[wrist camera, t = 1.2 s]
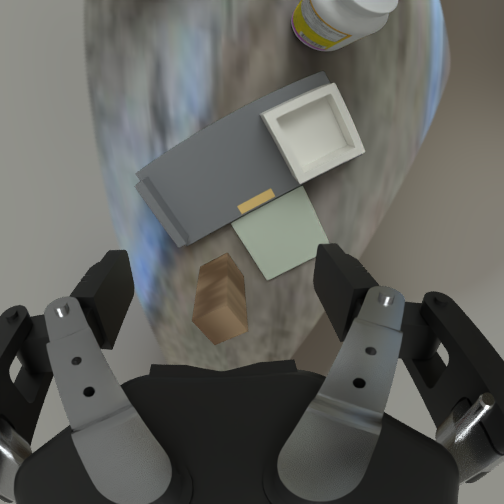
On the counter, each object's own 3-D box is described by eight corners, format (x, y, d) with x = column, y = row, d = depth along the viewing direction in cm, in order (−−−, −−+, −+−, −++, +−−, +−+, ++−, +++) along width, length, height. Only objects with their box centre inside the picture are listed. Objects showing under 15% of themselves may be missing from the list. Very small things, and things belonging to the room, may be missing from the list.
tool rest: (300, 183, 31) (302, 185, 30) (329, 244, 35) (331, 248, 34) (230, 219, 32) (230, 223, 32) (266, 276, 36) (267, 280, 36)
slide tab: (322, 85, 24) (334, 82, 21) (351, 146, 27) (365, 151, 24) (259, 114, 25) (263, 114, 22) (292, 175, 28) (300, 184, 25)
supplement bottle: (339, 2, 20) (395, -39, 9) (353, 51, 23) (420, 30, 12) (282, 4, 21) (314, -50, 9) (297, 54, 24) (340, 23, 13)
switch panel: (318, 72, 25) (330, 67, 21) (355, 151, 29) (370, 158, 26) (140, 169, 29) (129, 178, 25) (188, 238, 33) (184, 255, 30)
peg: (227, 252, 34) (227, 305, 26) (243, 276, 36) (248, 331, 27) (200, 267, 35) (192, 321, 26) (217, 289, 37) (214, 345, 28)
